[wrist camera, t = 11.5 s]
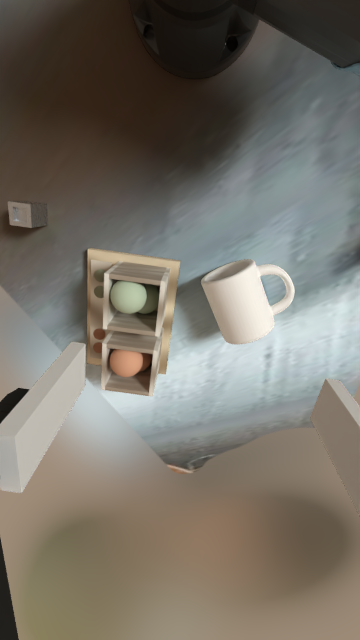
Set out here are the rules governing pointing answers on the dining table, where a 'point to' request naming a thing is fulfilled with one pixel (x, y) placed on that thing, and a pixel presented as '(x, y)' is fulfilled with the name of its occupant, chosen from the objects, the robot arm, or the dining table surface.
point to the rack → (129, 317)
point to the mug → (244, 299)
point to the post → (27, 214)
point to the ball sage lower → (150, 299)
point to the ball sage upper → (128, 296)
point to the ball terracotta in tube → (146, 361)
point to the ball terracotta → (126, 362)
